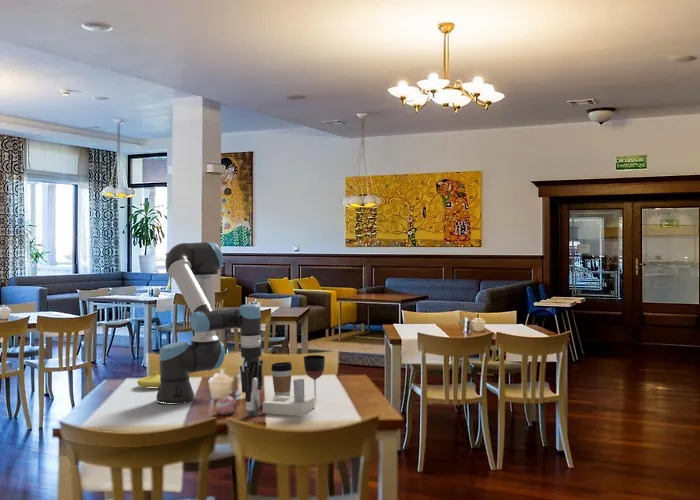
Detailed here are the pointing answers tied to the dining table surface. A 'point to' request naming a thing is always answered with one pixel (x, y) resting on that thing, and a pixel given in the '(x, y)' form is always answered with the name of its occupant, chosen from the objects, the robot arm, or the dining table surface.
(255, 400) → the pipe
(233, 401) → the red onion
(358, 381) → the dining table surface
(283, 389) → the coffee cup
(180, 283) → the robot arm
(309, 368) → the wineglass
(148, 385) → the yellow knobbed lid
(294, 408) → the socket block
